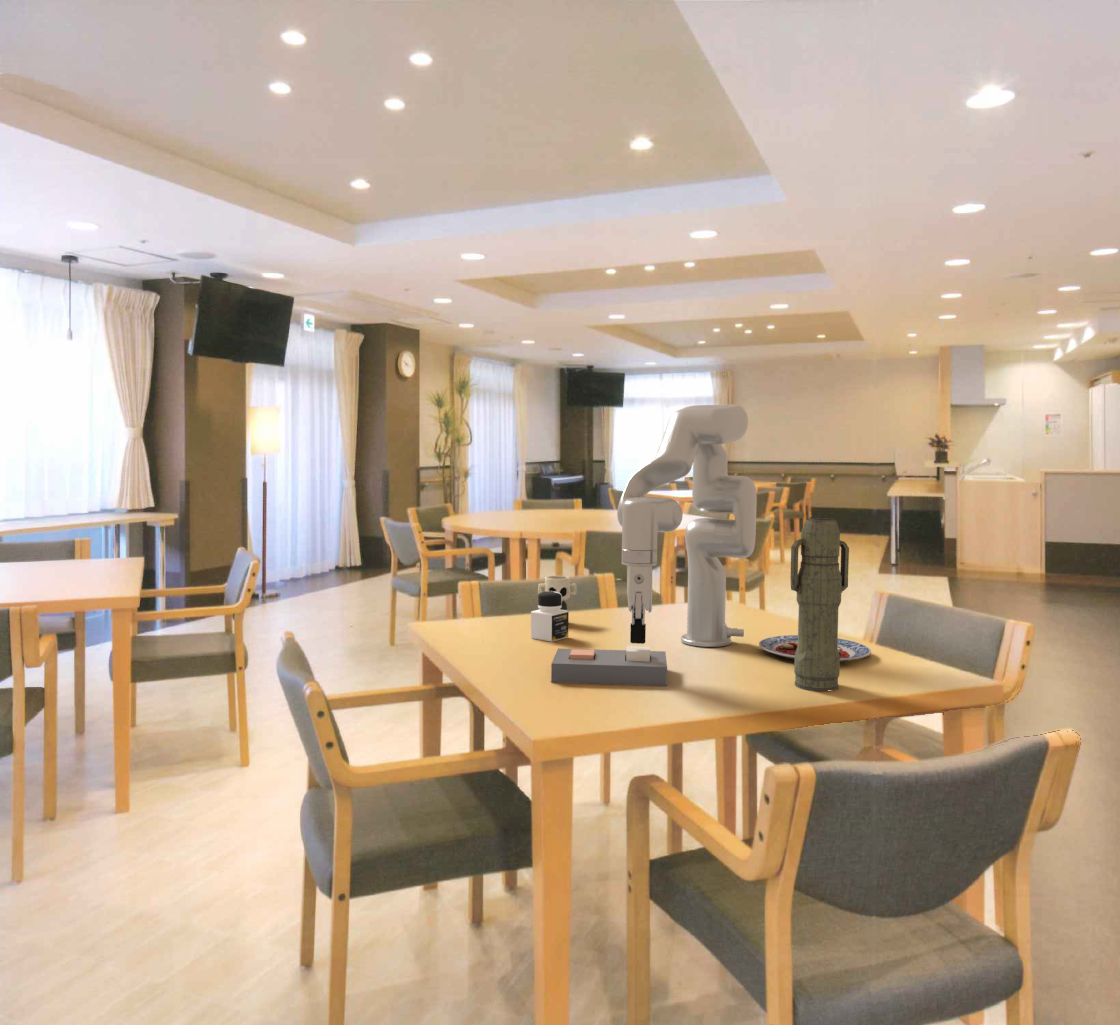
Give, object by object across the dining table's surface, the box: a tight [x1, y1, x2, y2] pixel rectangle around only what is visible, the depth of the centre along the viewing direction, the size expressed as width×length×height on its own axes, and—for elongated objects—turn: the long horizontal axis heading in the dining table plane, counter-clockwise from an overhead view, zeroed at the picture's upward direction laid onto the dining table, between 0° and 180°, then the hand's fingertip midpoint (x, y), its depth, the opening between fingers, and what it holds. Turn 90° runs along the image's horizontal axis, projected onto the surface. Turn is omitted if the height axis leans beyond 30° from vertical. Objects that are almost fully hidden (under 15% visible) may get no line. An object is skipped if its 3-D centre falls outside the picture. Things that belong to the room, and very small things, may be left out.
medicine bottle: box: [530, 590, 569, 643], centre depth 223 cm, size 7×7×12 cm
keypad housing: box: [550, 647, 668, 687], centre depth 186 cm, size 24×14×4 cm, turn 85°
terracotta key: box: [570, 648, 595, 660], centre depth 187 cm, size 5×5×3 cm
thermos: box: [790, 516, 850, 692], centre depth 178 cm, size 9×12×35 cm
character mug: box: [537, 575, 578, 611], centre depth 243 cm, size 11×7×13 cm, turn 93°
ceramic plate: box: [758, 634, 872, 663], centre depth 207 cm, size 26×26×3 cm
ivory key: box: [626, 645, 651, 662], centre depth 185 cm, size 5×5×3 cm
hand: (637, 642), depth 185 cm, fingers closed
